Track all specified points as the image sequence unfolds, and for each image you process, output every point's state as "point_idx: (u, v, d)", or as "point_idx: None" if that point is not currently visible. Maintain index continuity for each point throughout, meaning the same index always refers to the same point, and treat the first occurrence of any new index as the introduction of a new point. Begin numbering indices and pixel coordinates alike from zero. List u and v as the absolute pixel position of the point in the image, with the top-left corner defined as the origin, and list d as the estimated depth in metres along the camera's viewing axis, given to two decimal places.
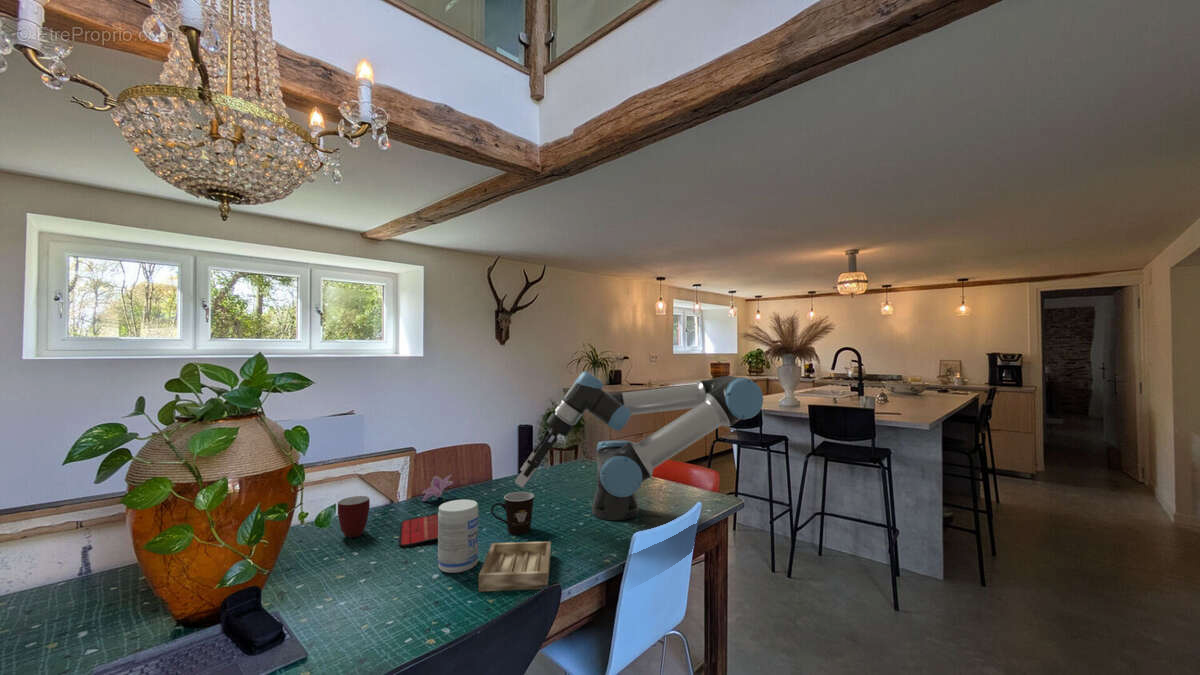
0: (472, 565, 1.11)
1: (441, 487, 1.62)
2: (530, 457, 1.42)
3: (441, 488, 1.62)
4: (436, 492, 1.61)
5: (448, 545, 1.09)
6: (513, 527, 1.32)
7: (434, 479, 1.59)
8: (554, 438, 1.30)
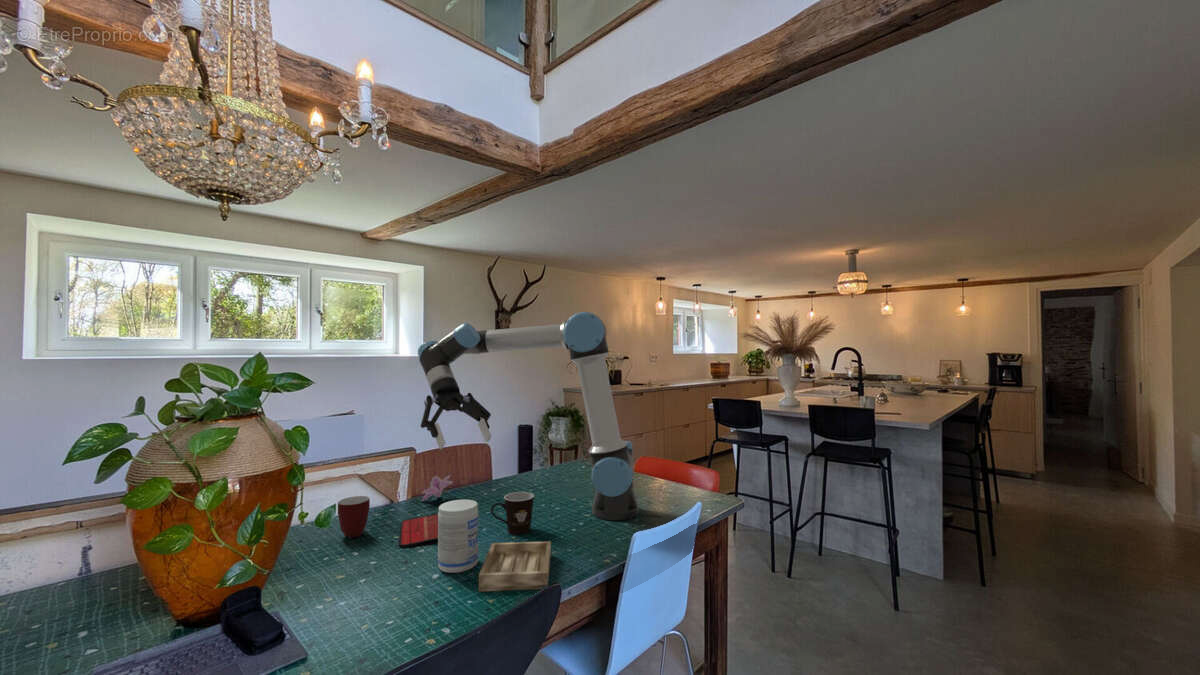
0: (472, 565, 1.11)
1: (441, 487, 1.62)
2: (480, 427, 1.34)
3: (441, 488, 1.62)
4: (436, 492, 1.61)
5: (448, 545, 1.09)
6: (513, 527, 1.32)
7: (434, 479, 1.59)
8: (426, 397, 1.30)
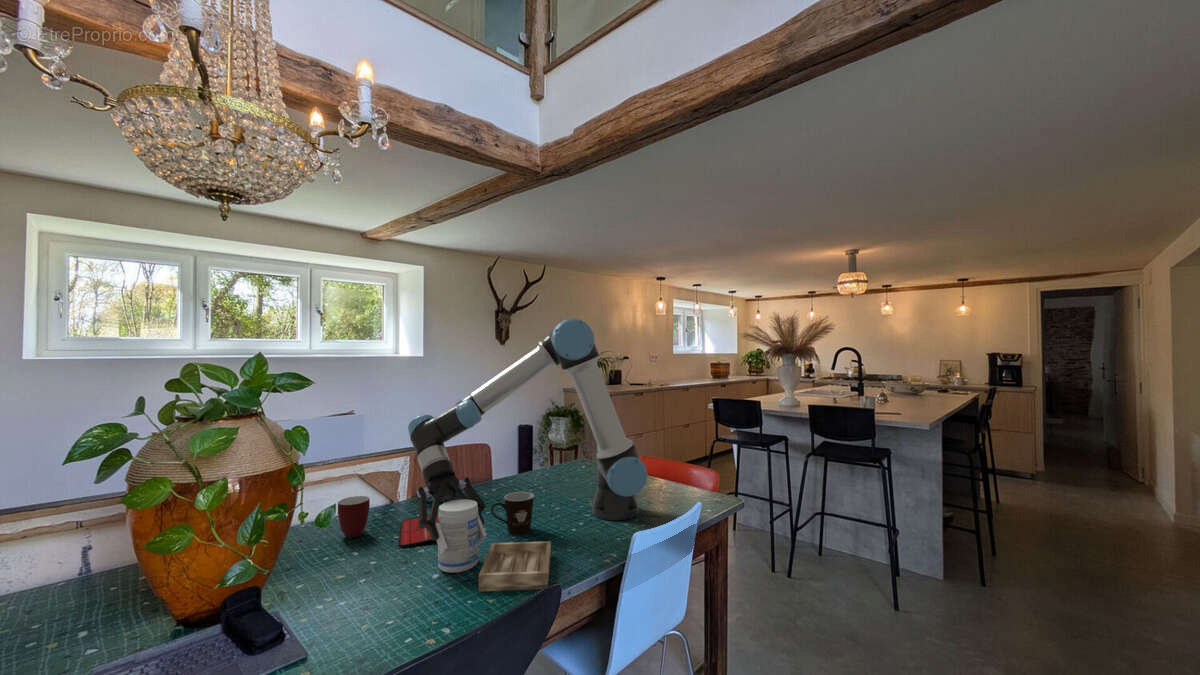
0: (472, 565, 1.11)
1: None
2: None
3: None
4: None
5: (448, 545, 1.09)
6: (513, 527, 1.32)
7: None
8: (418, 490, 1.15)
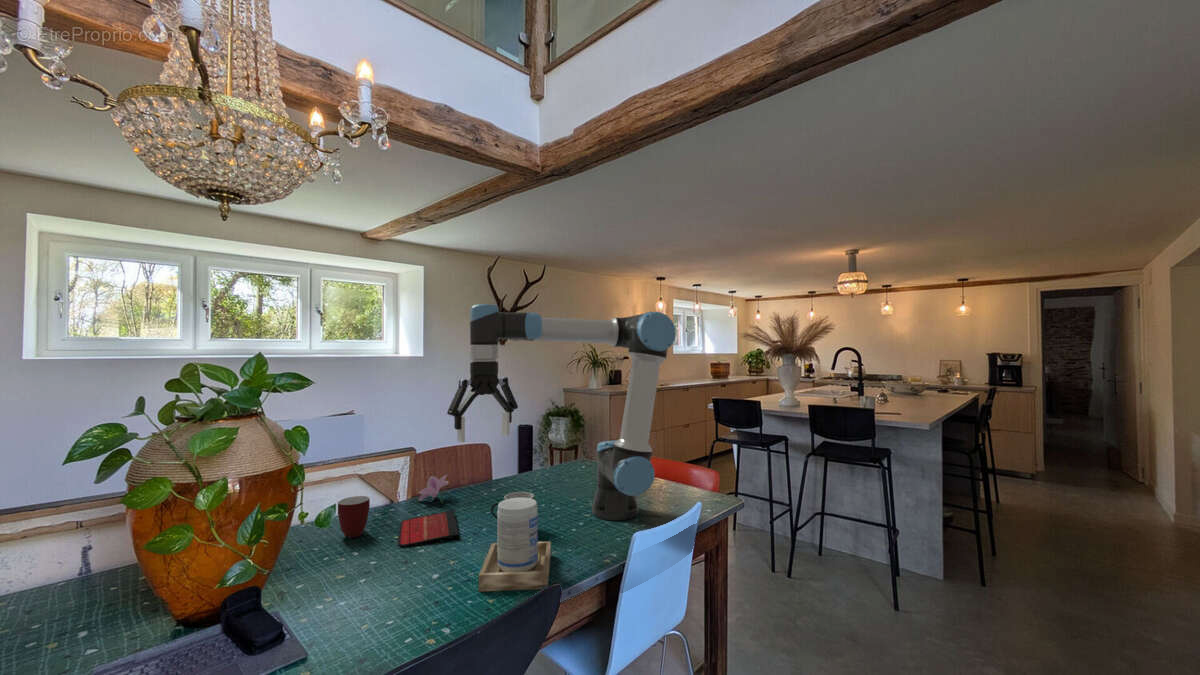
0: (533, 565, 1.08)
1: (437, 487, 1.62)
2: (502, 417, 1.32)
3: (437, 488, 1.62)
4: (432, 492, 1.61)
5: (510, 544, 1.06)
6: None
7: (430, 479, 1.59)
8: (462, 380, 1.22)
